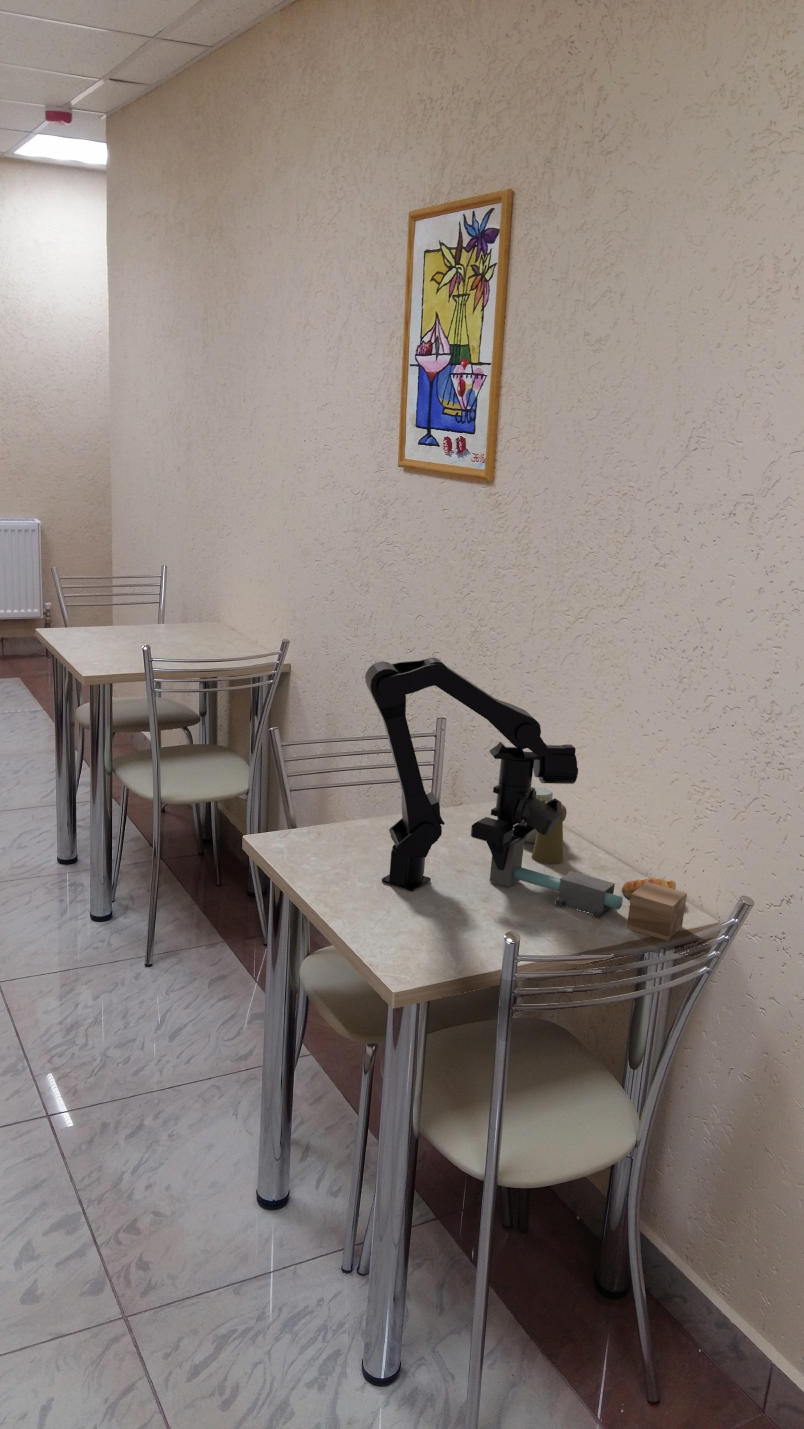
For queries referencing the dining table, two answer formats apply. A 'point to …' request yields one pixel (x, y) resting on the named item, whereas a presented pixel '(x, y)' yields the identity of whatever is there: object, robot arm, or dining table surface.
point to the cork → (550, 844)
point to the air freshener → (540, 795)
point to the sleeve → (584, 893)
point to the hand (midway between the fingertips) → (506, 866)
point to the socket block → (656, 910)
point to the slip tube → (533, 874)
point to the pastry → (634, 885)
